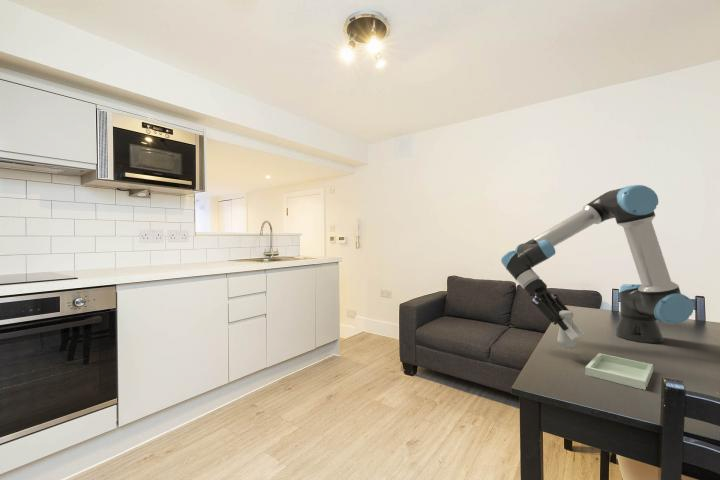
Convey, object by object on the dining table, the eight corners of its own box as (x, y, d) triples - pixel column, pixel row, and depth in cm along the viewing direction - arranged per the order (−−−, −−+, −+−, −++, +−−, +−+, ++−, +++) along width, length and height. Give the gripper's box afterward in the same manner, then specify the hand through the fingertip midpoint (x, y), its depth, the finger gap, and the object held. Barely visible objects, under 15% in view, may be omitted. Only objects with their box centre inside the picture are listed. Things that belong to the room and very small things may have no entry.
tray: (598, 359, 110) (598, 352, 110) (653, 371, 99) (652, 364, 99) (585, 374, 98) (585, 367, 98) (645, 390, 87) (645, 381, 87)
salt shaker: (553, 344, 114) (552, 309, 114) (568, 344, 115) (567, 308, 115) (565, 350, 108) (564, 313, 108) (580, 349, 109) (579, 312, 109)
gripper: (538, 288, 129) (583, 338, 114) (512, 291, 122) (556, 346, 107) (551, 276, 124) (599, 327, 109) (524, 279, 117) (572, 334, 102)
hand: (578, 336), depth 108 cm, fingers closed on salt shaker, 3 cm apart
